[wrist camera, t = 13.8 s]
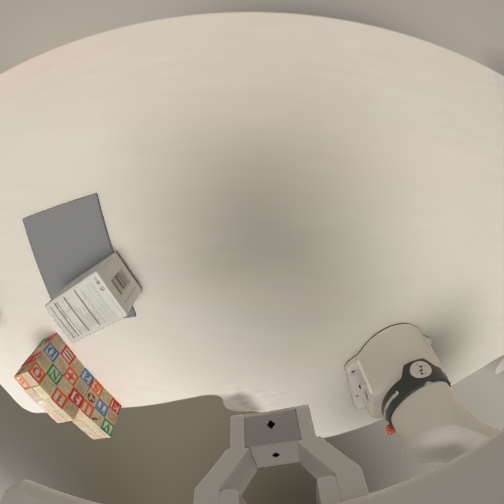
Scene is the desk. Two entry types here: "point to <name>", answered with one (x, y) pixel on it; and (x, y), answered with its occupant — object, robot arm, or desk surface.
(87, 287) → the supplement box
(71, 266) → the mat
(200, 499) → the robot arm
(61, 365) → the stack of blocks
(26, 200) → the desk surface
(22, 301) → the desk surface
